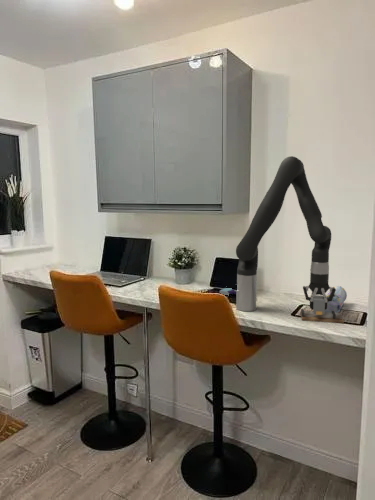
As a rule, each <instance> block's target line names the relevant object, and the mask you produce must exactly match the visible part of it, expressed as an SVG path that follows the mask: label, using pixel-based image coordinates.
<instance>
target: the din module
mask: <svg viewBox="0 0 375 500" xmlns="http://www.w3.org/2000/svg"><path fill="white" fill-rule="evenodd" d="M312 311H313V314H316V315H325V299H324V298H323V295H315V297H314V298H313V310H312Z"/></svg>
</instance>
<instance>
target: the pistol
mask: <svg viewBox="0 0 375 500" xmlns="http://www.w3.org/2000/svg"><path fill="white" fill-rule="evenodd" d="M218 292H219V293H221V294H224V295H228V296H227V297H229V294H232V295H236V291H234V289H232V288H226V287H224V288H222V289H220V290H219V291H218ZM233 293H234V294H233Z"/></svg>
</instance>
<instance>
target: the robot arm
mask: <svg viewBox="0 0 375 500" xmlns="http://www.w3.org/2000/svg"><path fill="white" fill-rule="evenodd" d="M291 185H292V187H293V189H294V192H295V194H296V197H297V202H298V205H299V207H300V211H301V213H302V216H303V217H304V219H305V221H306V226H307V231H308V235H309V237H310V239H311V240H312V241H313V242H314V246H313V249H312V250H311V261H310V262H311V263H310V269H309V270H310V272H309V273H310V275H309V276H310V277H309V279H310V280H309V281H310V282H309V284H308V285H306V286H305V285H303V286H302V289H303V292H304V296H305V301H309V309H310V311H311V310H312V311H313V298H314V297H315V295H322V296H323V298H324V299H325V309H327V302H329V301H332V299H333V296H334V294H335V291H336V289H335V288H334V287H335V286H333V288H332V286H330V284H329V278H330V277H329V275H330V272H329V271H330V264H329V263H330V261H329V260H330V258H329V257H330V247H331V243H332V231H331V228H329V227H328V226H327V225H324V223H323V220H322V218H323V215H322V212H321V210H320V207H319V204H318V202H317V201H316V199H315V197H314V194H313V192H312V189H311V187H310V185H309V182H308V179H307V174H306V170H305V165H304V163H303V161H301V159H299V158H297V157H296V156H287V157H286V158H284V159H283V160H282V161H281V162H280V164H279V167H278V170H277V172H276V175H275V176H274V179H273V182H272V183H271V185H270V187H269V188H268V190H267V192H266V194H265V196H264V197H263V199H261V203H260V204H259V206H258V208H257V210H256V211H255V214H254V216H253V218H252V220H251V221H250V225H249V226H248V229H247V230H246V233H245V234H244V236H243V237H242V239H241V240H240V241H239V243H238V244H237V246H236V249H235V254H236V257H237V258H238V265H237V270H236V285H237V291H236V294H235V295H236V300H235V301H236V302H235V306H236V308H235V310H237V311H242V312H253V311H256V310H257V278H258V277H257V275H258V274H257V273H258V271H257V270H258V265H259V248H258V247H259V244H260V242H261V241H262V238H263V237H264V235H265V234H266V233H267V231H268V230H269V229H270V228H271V227H272V225H273V224H274V222H275V221H276V219H277V217H278V216H279V213H280V211H281V210H282V208H283V204H284V201H285V197H286V195H287V192H288V190H289V188H290V186H291ZM309 289H310V291H311V294H310V297H309V295H308V294H309V293H308V292H309ZM328 290H329V291H330V295H329V298H327V297H326V295H327V293H328V292H329V291H328Z"/></svg>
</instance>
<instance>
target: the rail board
mask: <svg viewBox="0 0 375 500" xmlns="http://www.w3.org/2000/svg"><path fill="white" fill-rule="evenodd" d="M300 318H301V321H303V322H305V321H306V322H319V323H320V322H321V323H336V324H344V323H345V321H344V319H343V318H344V316H343V313H342V312H338V313H335V312H334V311H332V312H325V315H316V314H313V310H312V311H311V310H304V308H301V309H300Z"/></svg>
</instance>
